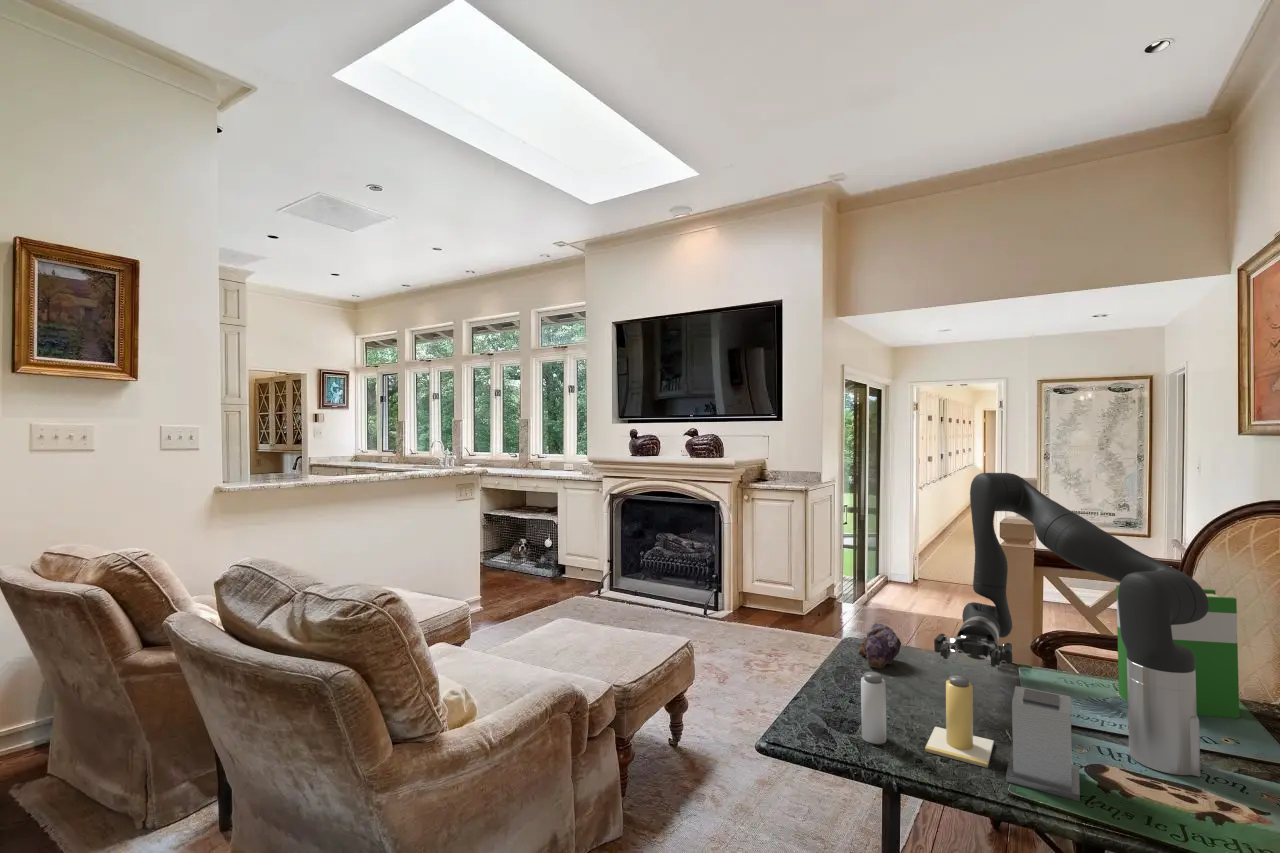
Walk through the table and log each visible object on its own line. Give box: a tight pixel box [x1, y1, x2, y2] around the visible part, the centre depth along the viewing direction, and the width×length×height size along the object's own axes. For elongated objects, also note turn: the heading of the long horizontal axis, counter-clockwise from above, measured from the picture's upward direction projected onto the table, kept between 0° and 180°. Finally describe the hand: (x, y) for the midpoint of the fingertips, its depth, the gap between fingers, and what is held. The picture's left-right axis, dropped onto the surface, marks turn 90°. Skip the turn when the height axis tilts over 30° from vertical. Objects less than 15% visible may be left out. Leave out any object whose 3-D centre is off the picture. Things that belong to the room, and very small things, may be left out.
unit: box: [1005, 685, 1081, 802], centre depth 104 cm, size 10×10×13 cm
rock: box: [858, 622, 902, 669], centre depth 156 cm, size 12×9×10 cm
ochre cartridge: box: [945, 674, 974, 750], centre depth 114 cm, size 4×4×12 cm
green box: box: [1116, 584, 1240, 719], centre depth 130 cm, size 18×7×24 cm, turn 75°
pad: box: [924, 726, 995, 769], centre depth 114 cm, size 10×10×1 cm
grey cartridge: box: [860, 671, 887, 745], centre depth 118 cm, size 4×4×12 cm
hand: (968, 657), depth 123 cm, fingers open, 8 cm apart
